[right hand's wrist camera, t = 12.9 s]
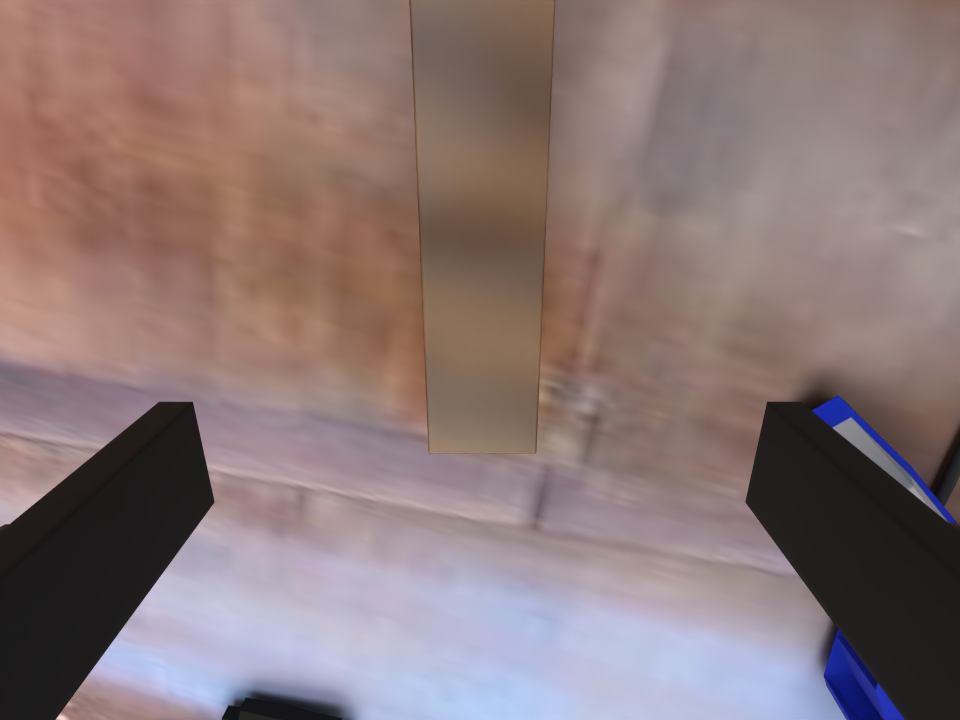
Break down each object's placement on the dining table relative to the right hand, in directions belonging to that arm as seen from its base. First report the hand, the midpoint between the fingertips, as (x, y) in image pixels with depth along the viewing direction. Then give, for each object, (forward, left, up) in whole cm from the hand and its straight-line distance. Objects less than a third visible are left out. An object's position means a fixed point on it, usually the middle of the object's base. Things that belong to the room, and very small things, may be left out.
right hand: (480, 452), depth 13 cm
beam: (+30, 0, -19) cm, 35 cm away
